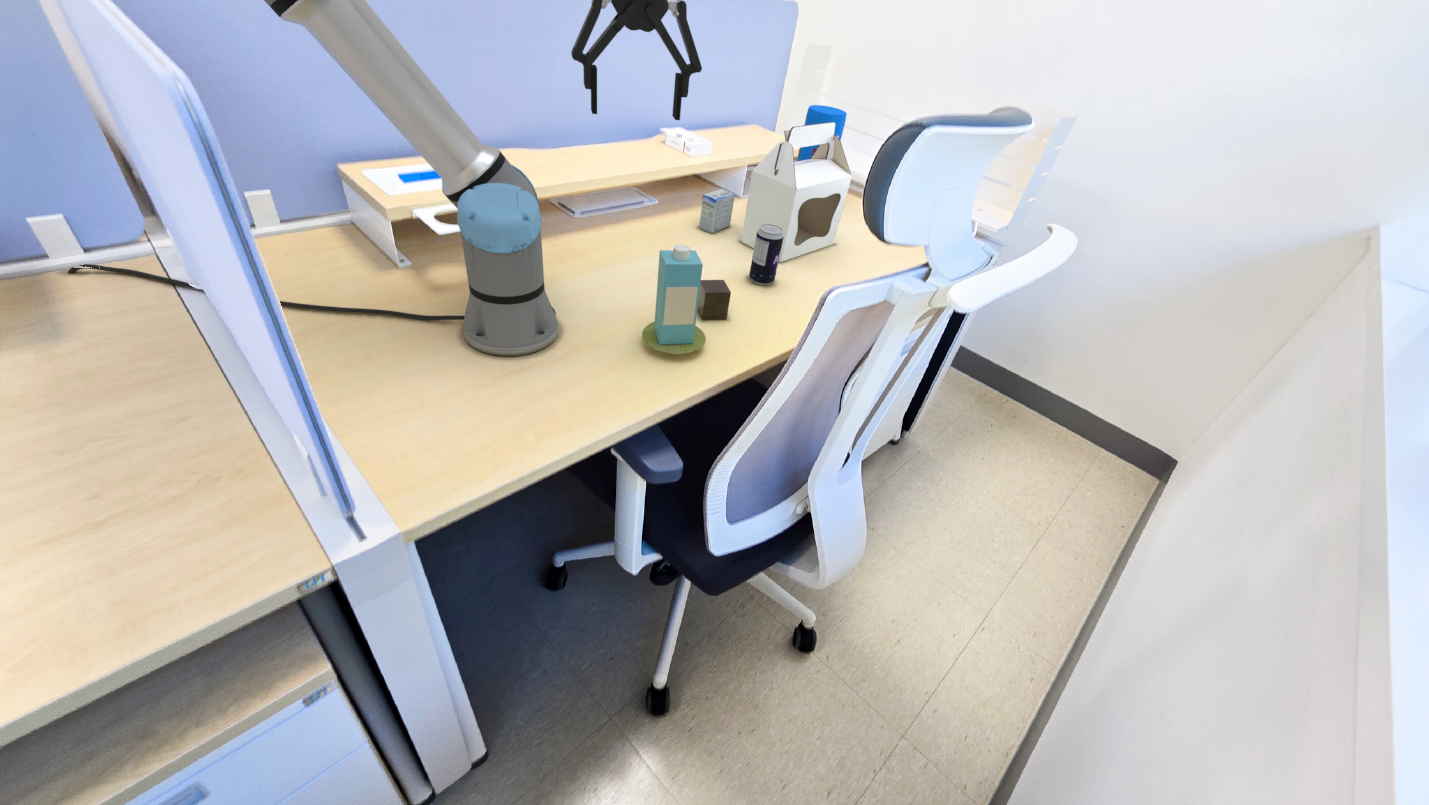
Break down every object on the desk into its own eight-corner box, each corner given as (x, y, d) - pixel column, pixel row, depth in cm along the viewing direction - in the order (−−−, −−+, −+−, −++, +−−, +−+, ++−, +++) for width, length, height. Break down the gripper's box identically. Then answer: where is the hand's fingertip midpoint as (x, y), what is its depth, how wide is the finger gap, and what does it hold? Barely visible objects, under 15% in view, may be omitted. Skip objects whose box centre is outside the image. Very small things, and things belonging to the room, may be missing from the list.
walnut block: (701, 320, 110) (705, 292, 107) (695, 307, 114) (699, 279, 110) (726, 319, 112) (731, 292, 108) (719, 306, 115) (724, 279, 112)
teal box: (655, 348, 102) (671, 330, 88) (649, 269, 103) (663, 239, 89) (688, 347, 103) (709, 329, 90) (681, 269, 105) (701, 240, 91)
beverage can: (772, 289, 124) (783, 236, 117) (746, 283, 125) (756, 230, 117) (775, 278, 129) (786, 226, 121) (750, 272, 129) (760, 221, 122)
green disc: (629, 336, 103) (630, 327, 102) (681, 322, 109) (682, 313, 108) (664, 369, 96) (665, 359, 95) (716, 352, 102) (718, 343, 101)
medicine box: (716, 221, 151) (721, 187, 146) (730, 226, 149) (735, 193, 144) (698, 228, 146) (702, 194, 140) (712, 234, 144) (717, 199, 138)
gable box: (795, 225, 155) (820, 113, 138) (834, 244, 149) (865, 128, 132) (739, 242, 142) (759, 119, 125) (779, 263, 135) (806, 137, 118)
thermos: (788, 202, 169) (807, 110, 154) (790, 191, 178) (808, 102, 162) (824, 209, 169) (847, 117, 153) (825, 197, 177) (847, 109, 162)
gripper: (551, -60, 76) (558, 115, 89) (732, -33, 82) (713, 126, 96) (550, -62, 81) (556, 103, 95) (719, -36, 88) (703, 114, 101)
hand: (635, 115), depth 95 cm, fingers open, 13 cm apart
